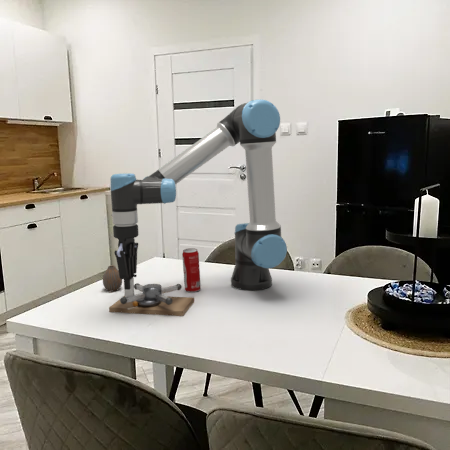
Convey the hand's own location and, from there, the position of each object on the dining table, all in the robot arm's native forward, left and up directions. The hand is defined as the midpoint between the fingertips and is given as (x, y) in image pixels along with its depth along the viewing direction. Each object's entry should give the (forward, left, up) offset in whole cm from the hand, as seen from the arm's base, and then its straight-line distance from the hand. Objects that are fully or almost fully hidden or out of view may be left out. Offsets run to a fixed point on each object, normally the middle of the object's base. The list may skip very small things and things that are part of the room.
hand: (129, 298), depth 143 cm
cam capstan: (-6, -4, -2) cm, 7 cm away
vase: (+15, -19, -4) cm, 25 cm away
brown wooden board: (-6, -4, -4) cm, 8 cm away
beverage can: (-14, -22, -4) cm, 27 cm away
